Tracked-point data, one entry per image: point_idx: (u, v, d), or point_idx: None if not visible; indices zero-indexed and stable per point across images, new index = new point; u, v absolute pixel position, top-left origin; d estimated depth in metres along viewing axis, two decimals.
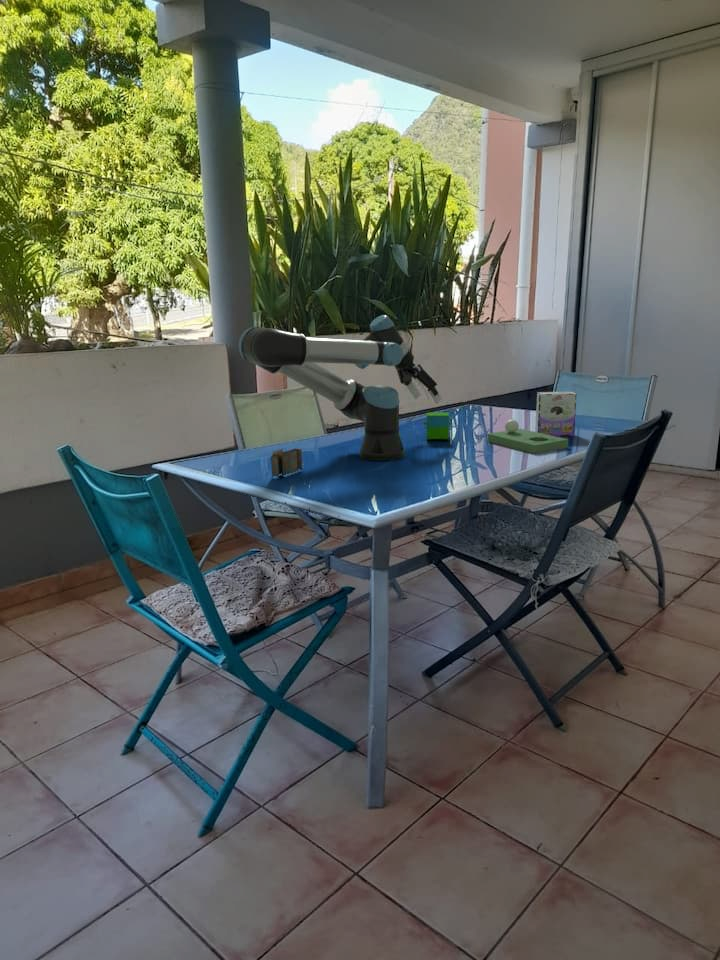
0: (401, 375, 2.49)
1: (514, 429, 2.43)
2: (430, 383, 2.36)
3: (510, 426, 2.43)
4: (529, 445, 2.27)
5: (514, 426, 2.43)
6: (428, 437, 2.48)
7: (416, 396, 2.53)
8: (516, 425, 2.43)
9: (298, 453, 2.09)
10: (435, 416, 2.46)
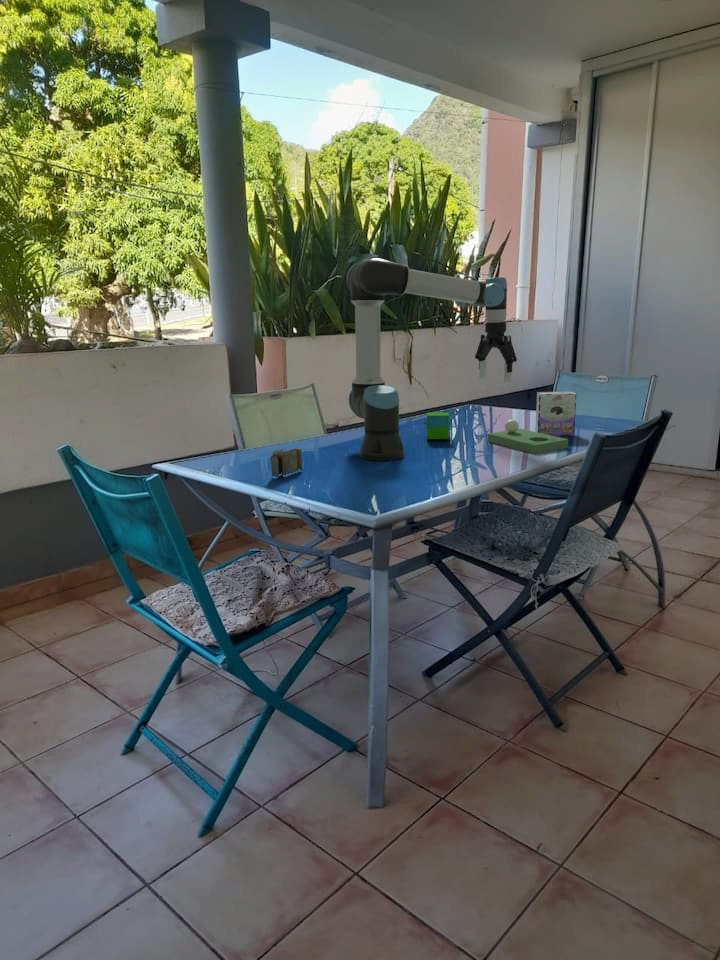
0: (481, 348, 2.51)
1: (514, 429, 2.43)
2: (512, 356, 2.38)
3: (510, 426, 2.43)
4: (529, 445, 2.27)
5: (514, 426, 2.43)
6: (428, 437, 2.48)
7: (482, 376, 2.53)
8: (516, 425, 2.43)
9: (298, 453, 2.09)
10: (435, 416, 2.46)
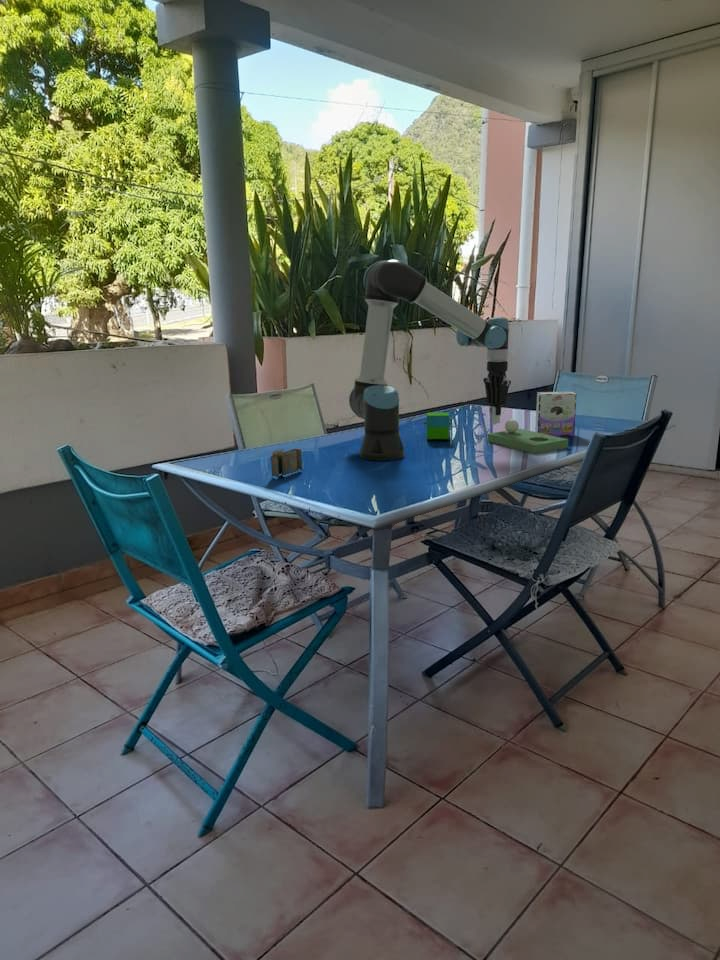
0: (488, 391, 2.52)
1: (514, 429, 2.43)
2: (502, 401, 2.47)
3: (510, 426, 2.43)
4: (529, 445, 2.27)
5: (514, 426, 2.43)
6: (428, 437, 2.48)
7: None
8: (516, 425, 2.43)
9: (298, 453, 2.09)
10: (435, 416, 2.46)
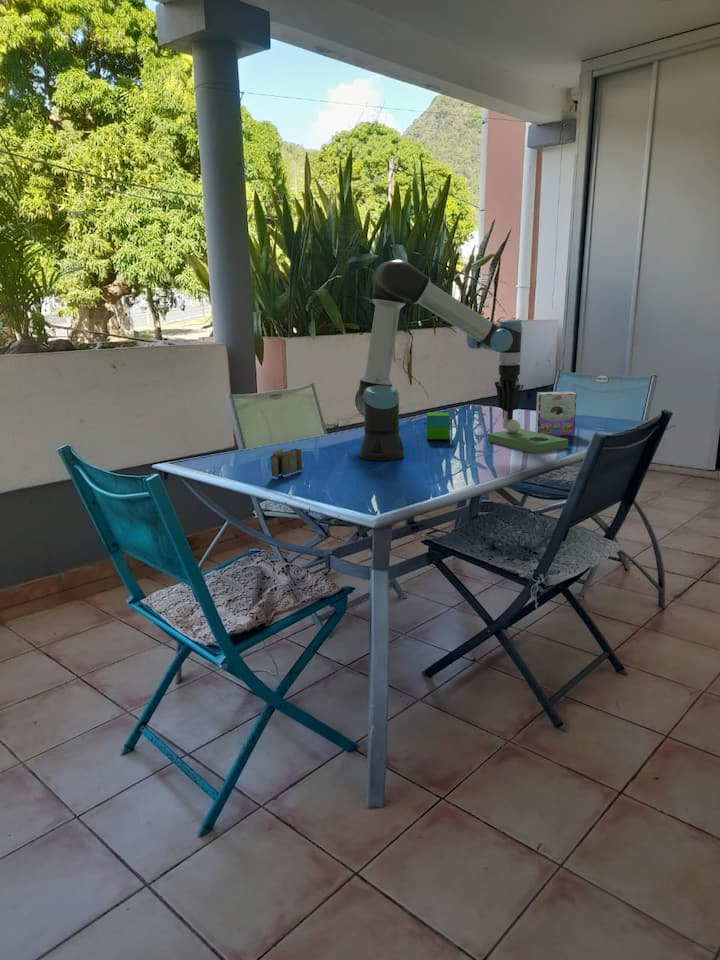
0: (500, 395, 2.47)
1: (515, 431, 2.43)
2: (514, 405, 2.42)
3: (511, 427, 2.42)
4: (529, 445, 2.27)
5: (515, 428, 2.42)
6: (428, 437, 2.48)
7: None
8: (518, 427, 2.43)
9: (298, 453, 2.09)
10: (435, 416, 2.46)
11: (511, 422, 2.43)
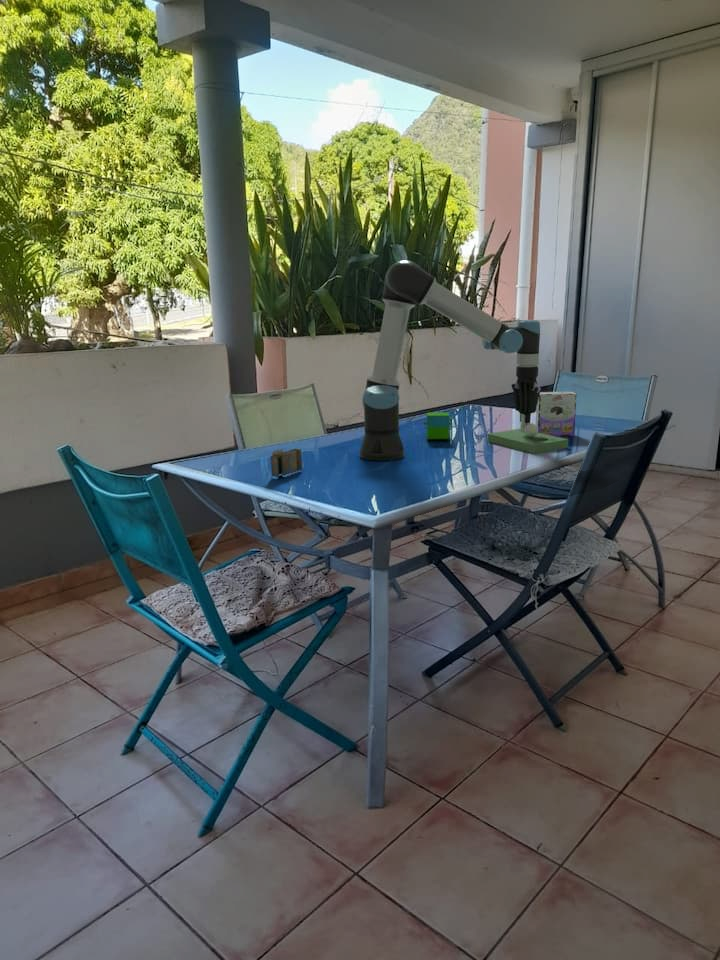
0: (517, 397, 2.39)
1: None
2: (532, 408, 2.34)
3: (524, 431, 2.37)
4: (529, 445, 2.27)
5: None
6: (428, 437, 2.48)
7: (523, 429, 2.40)
8: None
9: (298, 453, 2.09)
10: (435, 416, 2.46)
11: (527, 435, 2.37)
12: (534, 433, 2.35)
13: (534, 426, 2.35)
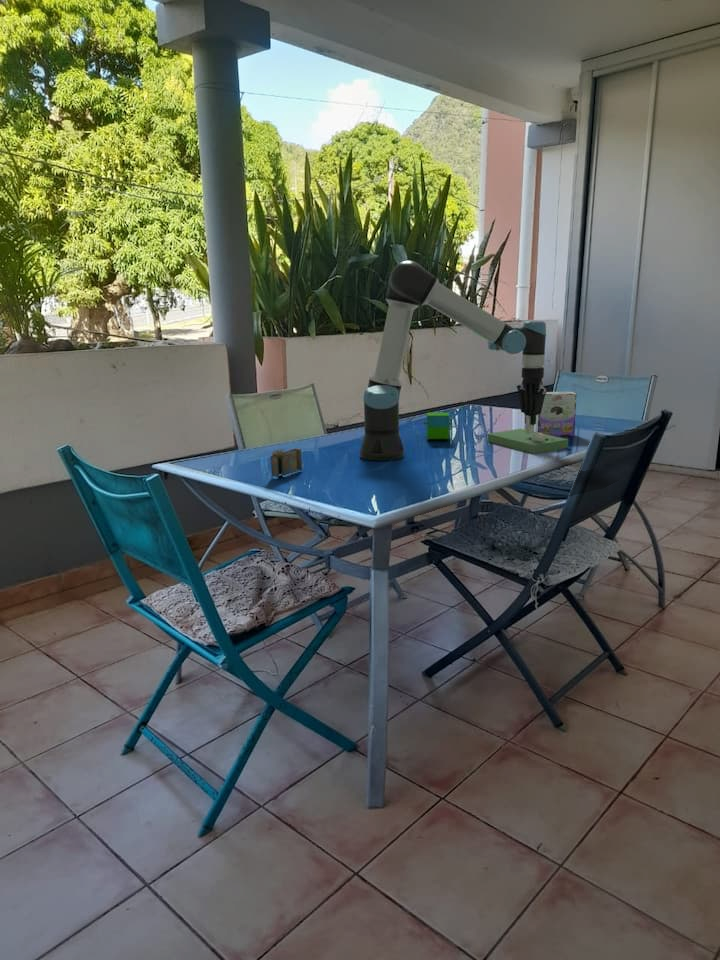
0: (522, 399, 2.37)
1: (539, 435, 2.33)
2: (538, 409, 2.32)
3: (533, 436, 2.33)
4: (529, 445, 2.27)
5: (536, 433, 2.33)
6: (428, 437, 2.48)
7: None
8: (538, 432, 2.34)
9: (298, 453, 2.09)
10: (435, 416, 2.46)
11: (531, 437, 2.35)
12: None
13: None
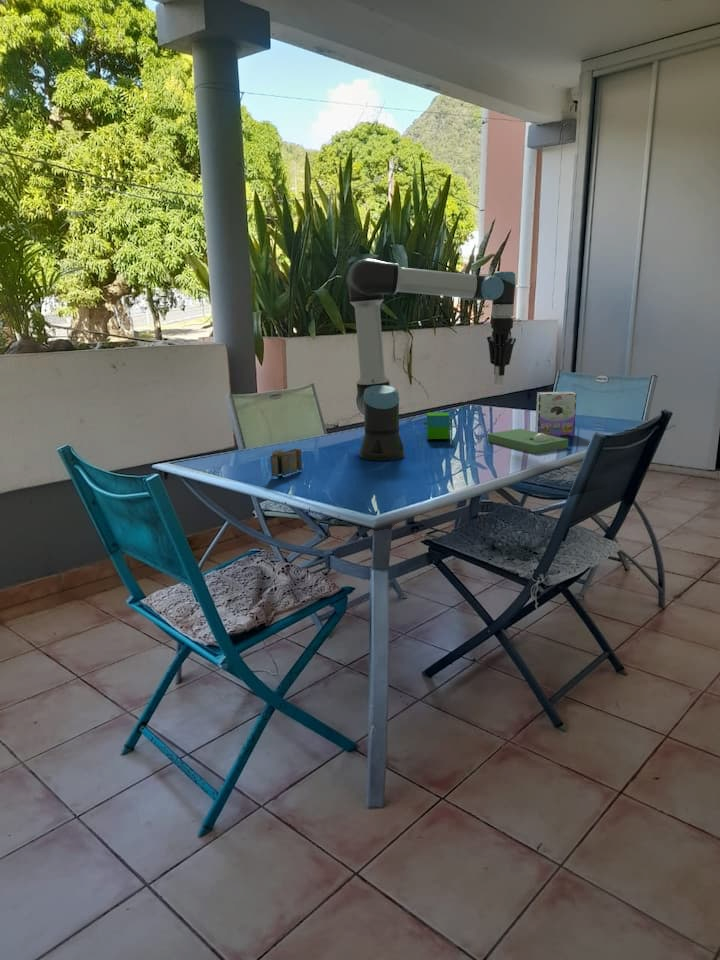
0: (492, 350, 2.40)
1: (543, 439, 2.31)
2: (506, 360, 2.35)
3: (537, 438, 2.32)
4: (529, 445, 2.27)
5: (541, 436, 2.32)
6: (428, 437, 2.48)
7: None
8: (544, 435, 2.32)
9: (298, 453, 2.09)
10: (435, 416, 2.46)
11: (535, 435, 2.34)
12: None
13: None
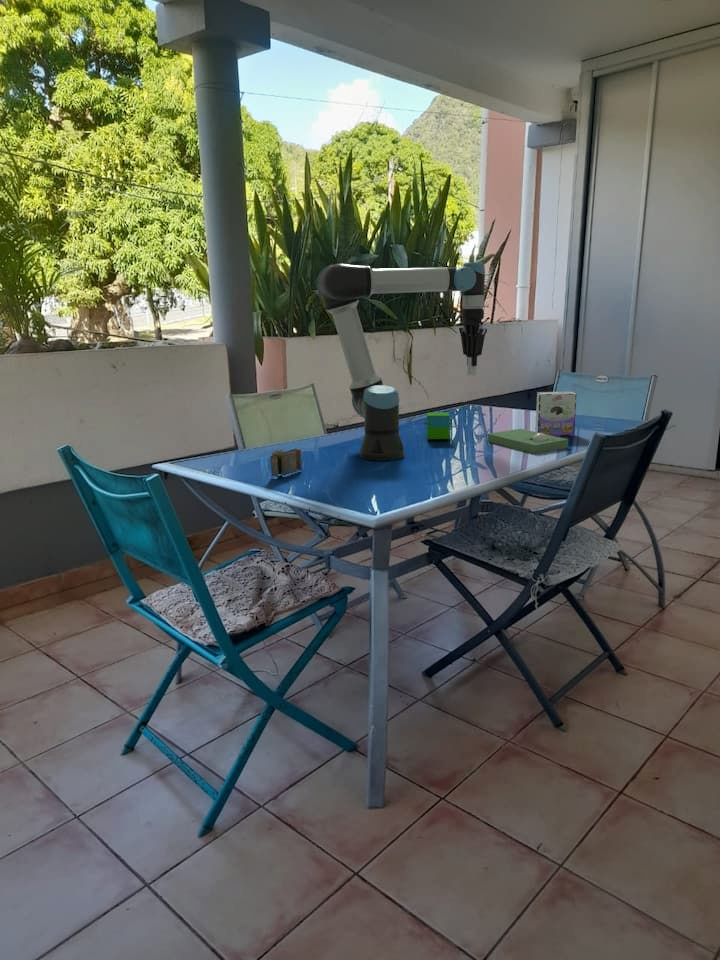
0: (464, 341, 2.41)
1: (543, 438, 2.32)
2: (478, 350, 2.36)
3: (537, 437, 2.32)
4: (529, 445, 2.27)
5: (540, 435, 2.32)
6: (428, 437, 2.48)
7: None
8: (543, 434, 2.32)
9: (297, 453, 2.09)
10: (435, 416, 2.46)
11: (534, 436, 2.34)
12: None
13: None
